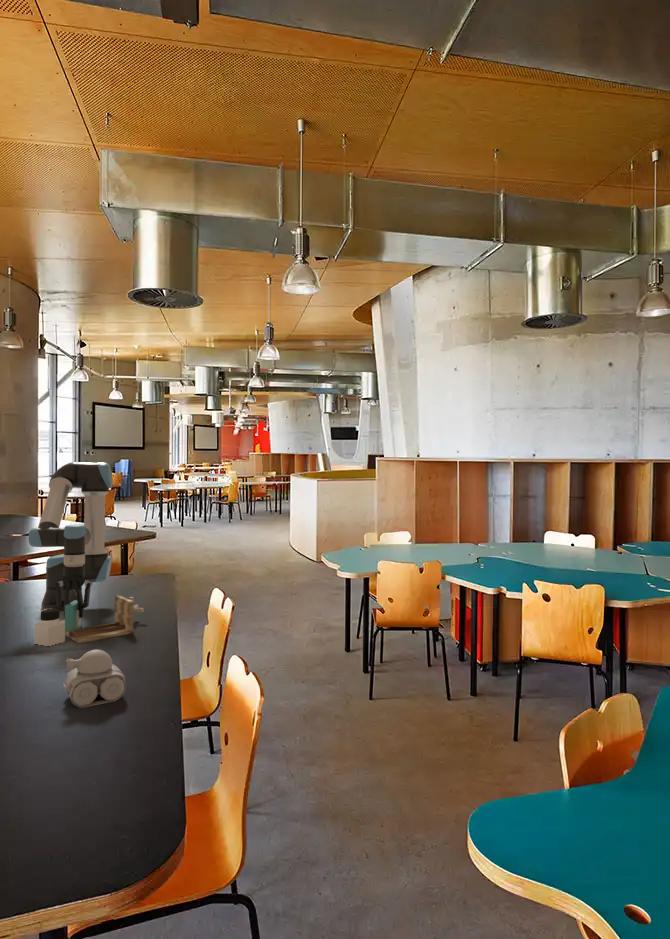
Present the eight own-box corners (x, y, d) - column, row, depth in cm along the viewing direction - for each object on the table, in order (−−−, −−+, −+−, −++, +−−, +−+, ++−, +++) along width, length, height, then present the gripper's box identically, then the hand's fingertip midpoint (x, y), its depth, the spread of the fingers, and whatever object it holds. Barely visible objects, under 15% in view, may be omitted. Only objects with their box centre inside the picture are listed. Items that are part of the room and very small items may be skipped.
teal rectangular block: (64, 632, 218) (64, 605, 218) (74, 625, 227) (74, 600, 227) (72, 632, 219) (73, 605, 219) (82, 625, 228) (82, 600, 228)
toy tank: (66, 711, 148) (67, 660, 148) (60, 697, 157) (61, 649, 157) (127, 699, 156) (128, 651, 156) (118, 686, 165) (119, 641, 165)
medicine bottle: (65, 642, 206) (65, 608, 206) (47, 647, 200) (48, 612, 200) (51, 639, 209) (51, 606, 209) (33, 644, 203) (34, 610, 203)
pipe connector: (148, 619, 239) (148, 595, 239) (137, 625, 229) (137, 600, 229) (124, 618, 240) (125, 594, 240) (113, 624, 230) (113, 599, 230)
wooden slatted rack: (65, 634, 215) (65, 602, 215) (118, 625, 229) (118, 595, 229) (78, 643, 205) (78, 609, 205) (133, 633, 218) (133, 601, 218)
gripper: (48, 566, 219) (47, 628, 219) (92, 566, 220) (91, 628, 220) (57, 563, 226) (56, 623, 226) (99, 563, 227) (98, 623, 227)
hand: (73, 626), depth 223 cm, fingers closed on teal rectangular block, 3 cm apart
